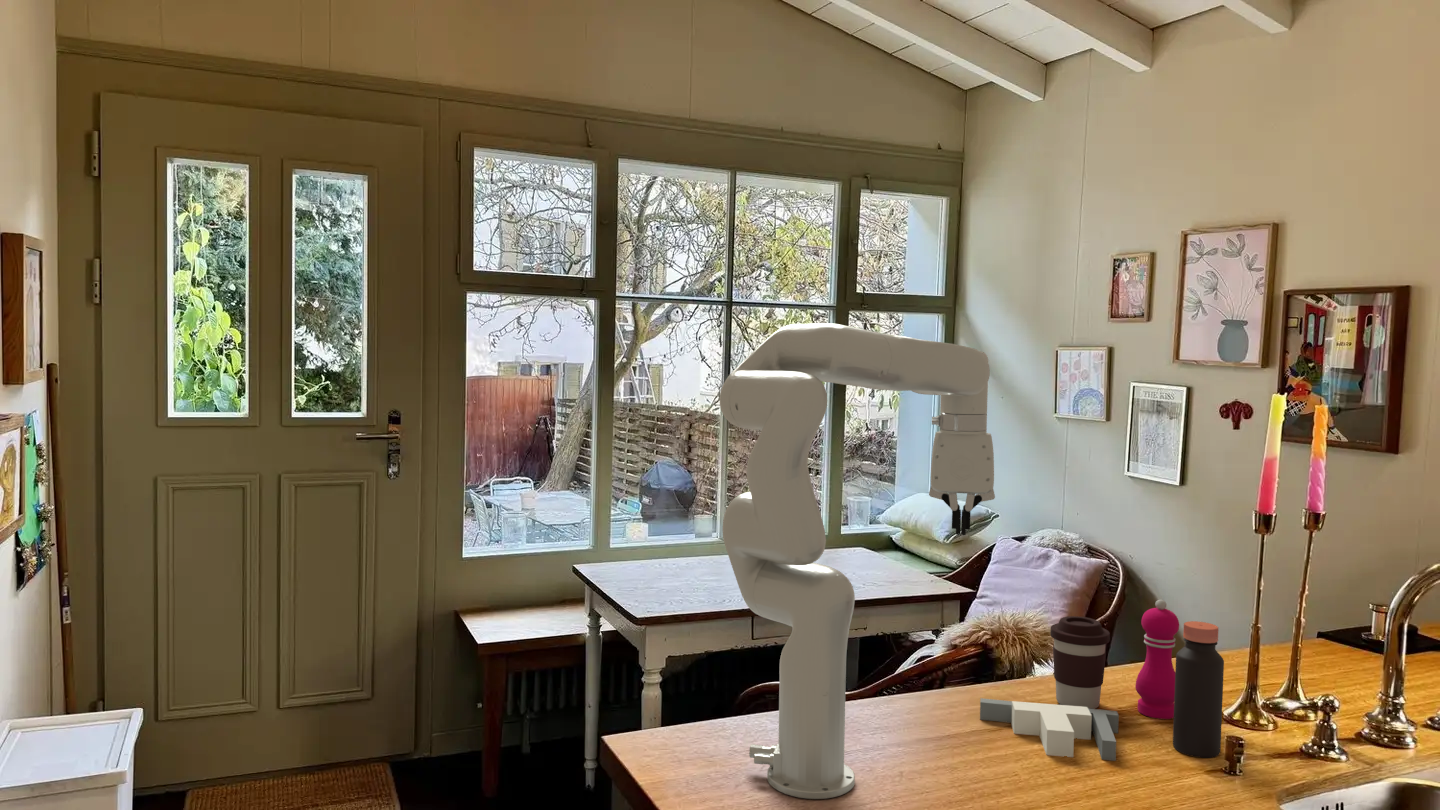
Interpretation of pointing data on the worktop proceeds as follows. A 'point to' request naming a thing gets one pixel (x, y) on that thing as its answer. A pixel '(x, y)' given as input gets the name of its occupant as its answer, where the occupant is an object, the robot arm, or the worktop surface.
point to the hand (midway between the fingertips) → (960, 533)
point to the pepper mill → (1158, 663)
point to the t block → (1052, 725)
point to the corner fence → (1101, 723)
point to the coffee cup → (1079, 660)
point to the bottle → (1198, 692)
